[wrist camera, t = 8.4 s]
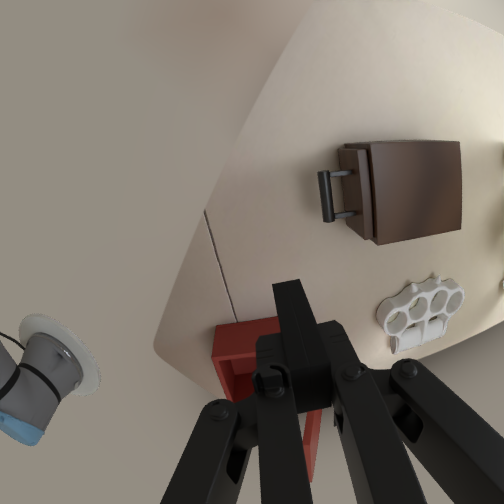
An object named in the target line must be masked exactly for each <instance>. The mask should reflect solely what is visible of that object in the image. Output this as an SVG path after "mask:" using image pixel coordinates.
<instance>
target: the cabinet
mask: <svg viewBox="0 0 504 504" xmlns="http://www.w3.org/2000/svg"><path fill="white" fill-rule="evenodd" d="M344 146H345V148H357V149H366V151H367V152H368V154H369V162H370V171H371V181H372V193H373V207H374V224H373V239H370V240H372V241H373V242H374V243H375V244H376V245H377V246H379V245H384V244H389V243H394V242H399V241H405V240H410V239H415V238H420V237H425V236H430V235H435V234H440V233H445V232H450V231H455V230H460V229H461V221H462V170H461V153H460V142H458V141H442V140H393V141H373V142H359V143H346V144H344Z"/></svg>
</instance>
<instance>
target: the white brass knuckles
mask: <svg viewBox="0 0 504 504" xmlns="http://www.w3.org/2000/svg"><path fill="white" fill-rule="evenodd" d="M436 293H437V295H436V297H435V299H434V300H433V301H432V298H433V297H434V295H435V294H436ZM450 297H451V298H450ZM464 297H465V292H464V289H463V288H462V287H461V286H460V285H459V284H458V283H456V282H455V281H454V280H453V279H448V280H446V281H441V278H440V274H439V275H438V276H437V277H436V278H429V279H427V280H426V281H425V282H423V283H419V284H416V283H413V282H412V284H411V285H409V286H408V287H406V288H404V290H403V291H402V292H401V293H400V294H398V295H397V296H395V297H392V298H386V299H385V300H384V301H383V302H382V303H381V304H380V306H379V308H378V310H377V314H376V317H377V321H378V323H379V324H380V326H381V327H382V329H383V330H384V332H385V333H386V334H388V335H390V336H391V341H390V346H391V352H392V354H398V353H399V352H402V351H405V350H407V349H410V348H413V347H416V346H421V345H422V344H424V343H427V342H429V341H432V340H434V339H437V338H441V337H442V336H443V335H444V334H445V332H446V329H447V324H448V321H449V319H450V318H451V316H452V315H453V314H455V313H456V312H457V311H458V310H459V308H460V307H461V305H462V303H463V301H464ZM417 298H419V300H418V303H417V304H416V306H415V307H414V308H412V309H411V310H409V307H410V305H411V303H412V302H413V301H414V300H415V299H417ZM431 301H432V302H431ZM396 312H399V315H398V316H397V318H396V319H395V320H394V321H392V322H390V323H387V321H388V319H389V318H390V316H391V315H393V314H394V313H396ZM436 315H437V316H436ZM433 316H436V319H434V320H432V321H429V319H430V318H431V317H433ZM428 321H429V322H428ZM413 323H415V327H412V328H409V329H406V328H407V327H408V326H409V325H410V324H413Z"/></svg>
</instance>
